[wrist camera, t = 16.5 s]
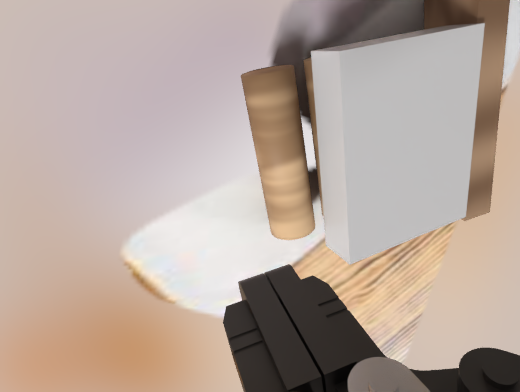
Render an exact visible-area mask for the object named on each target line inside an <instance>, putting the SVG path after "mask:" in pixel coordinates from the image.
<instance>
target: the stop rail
mask: <svg viewBox="0 0 520 392" xmlns="http://www.w3.org/2000/svg"><path fill="white" fill-rule="evenodd" d="M509 3H510V0H424V30H425V29H430V28H435V27H441V26H446V25H461V24H477V23H485V27H484V37H483V47H482V57H481V68H480V78H479V88H478V98H477V108H476V119H475V129H474V139H473V149H472V159H471V170H470V180H469V190H468V200H467V210H466V217H464V218H462V220H464V221H466V220H469V219H472V218H475V217H477V216H480V215H483V214H486V213H488V212H490V204H491V194H492V182H493V173H494V162H495V152H496V141H497V130H498V120H499V109H500V98H501V88H502V77H503V67H504V56H505V45H506V35H507V24H508V13H509Z"/></svg>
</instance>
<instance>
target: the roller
mask: <svg viewBox="0 0 520 392" xmlns="http://www.w3.org/2000/svg"><path fill="white" fill-rule="evenodd" d="M241 79H242V83H243V89H244V95H245V100H246V105H247V110H248V115H249V120H250V126H251V131H252V136H253V141H254V146H255V151H256V156H257V162H258V167H259V172H260V177H261V183H262V188H263V193H264V198H265V203H266V208H267V214H268V219H269V224H270V229H271V233H272V235H273V236H275V237H276V238H279V239H283V240H294V239H299V238H302V237H305V236H307V235H309V234H310V233H311V232H312V231H313V230H314V228H315V220H314V213H313V205H312V198H311V190H310V183H309V175H308V168H307V160H306V153H305V145H304V138H303V130H302V123H301V115H300V108H299V100H298V93H297V86H296V78H295V71H294V66H293V65H279V66H272V67H267V68H261V69H257V70H253V71H250V72H247V73H244V74H242V75H241Z"/></svg>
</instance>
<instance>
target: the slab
mask: <svg viewBox="0 0 520 392" xmlns="http://www.w3.org/2000/svg"><path fill="white" fill-rule="evenodd" d="M484 27H485V23H477V24H461V25H446V26H441V27H435V28H430V29H425V30H420V31H414V32H409V33H404V34H398V35H393V36H388V37H383V38H377V39H372V40H367V41H362V42H356V43H351V44H346V45H340V46H335V47H330V48H325V49H319V50H314V51H311V60H312V73H313V86H314V98H315V111H316V124H317V137H318V150H319V162H320V175H321V188H322V201H323V213H324V226H325V239H326V246H327V247H328V248H330V249H331V250H332V251H333V252H335V253H336V254H337V255H338V256H340V257H341V258H342V259H343V260H345V261H346V262H347V263H348V264H353V263H355V262H357V261H360V260H362V259H365V258H367V257H370V256H372V255H374V254H377V253H379V252H382V251H384V250H387V249H389V248H391V247H394V246H396V245H399V244H401V243H404V242H406V241H408V240H411V239H413V238H416V237H418V236H420V235H423V234H425V233H428V232H430V231H433V230H435V229H437V228H440V227H442V226H445V225H447V224H450V223H452V222H454V221H457V220H459V219H462V218H464V217H466V210H467V200H468V190H469V180H470V170H471V159H472V149H473V139H474V129H475V119H476V108H477V98H478V88H479V78H480V68H481V57H482V47H483V37H484Z"/></svg>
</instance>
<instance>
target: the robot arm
mask: <svg viewBox="0 0 520 392" xmlns="http://www.w3.org/2000/svg"><path fill="white" fill-rule="evenodd" d="M238 284H239V289H240V293H241V297H242V301H240V302H238V303H235V304H232V305H229V306H226V311H225V316H224V321H223V324H224V327H225V331H226V334H227V338H228V341H229V345H230V348H231V352H232V355H233V359H234V362H235V365H236V369H237V372H238V375H239V378H240V381H241V384H242V387H243V390H244V392H520V356H519V355H516V354H513V353H510V352H507V351H503V350H499V349H495V348H478V349H474V350H471V351H469V352H467V353H466V354H465V355H464V356H463V357H462V359H461V361H460V364H459V368H454V369H442V370H431V371H419V370H412V369H408V368H407V367H406V366H405V365H403V364H402V363H400V362H398V361H396V360H393V359H390V358H387V357H386V356H385V355H384V354H383V353H382V352H381V351H380V349H379V348H378V347H377V346H376V344H375V343H374V342H373V341H372V339H371V338H370V337H369V335H368V334H367V333H366V332H365V330H364V329H363V328H362V326H361V325H360V324H359V323H358V321H357V320H356V319H355V318H354V316H353V315H352V314H351V312H350V311H348V310H347V307H346V306H345V305H344V304H343V302H342V301H341V300H339V298H338V296H337V295H336V293H335V292H334V291H333V290H332V288H331V287H330V286H329V284H327V283H325V282H324V281H322V280H320V279H318V278H316V277H315V276H310V277H307V278H305V279H302V280H301V279H300V278H299V277H298V275H297V274H296V272H295V271H294V269H293V268H292V266H291V265H289V264H288V265H285V266H282V267H280V268H277V269H274V270H271V271H268V272H265V273H264V274H260V275H257V276H254V277H251V278H248V279H245V280H242V281H239V282H238Z"/></svg>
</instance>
